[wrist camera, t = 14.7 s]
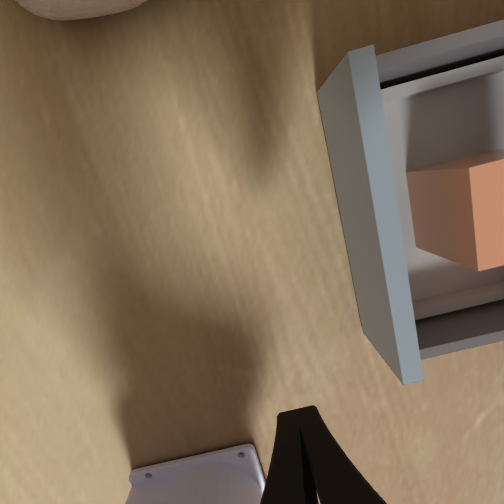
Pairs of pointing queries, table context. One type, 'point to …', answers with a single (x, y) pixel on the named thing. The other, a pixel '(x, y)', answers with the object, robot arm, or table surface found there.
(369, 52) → the tray
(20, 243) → the table surface
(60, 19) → the stone
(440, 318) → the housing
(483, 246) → the block
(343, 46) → the table surface
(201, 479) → the robot arm
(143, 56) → the table surface
